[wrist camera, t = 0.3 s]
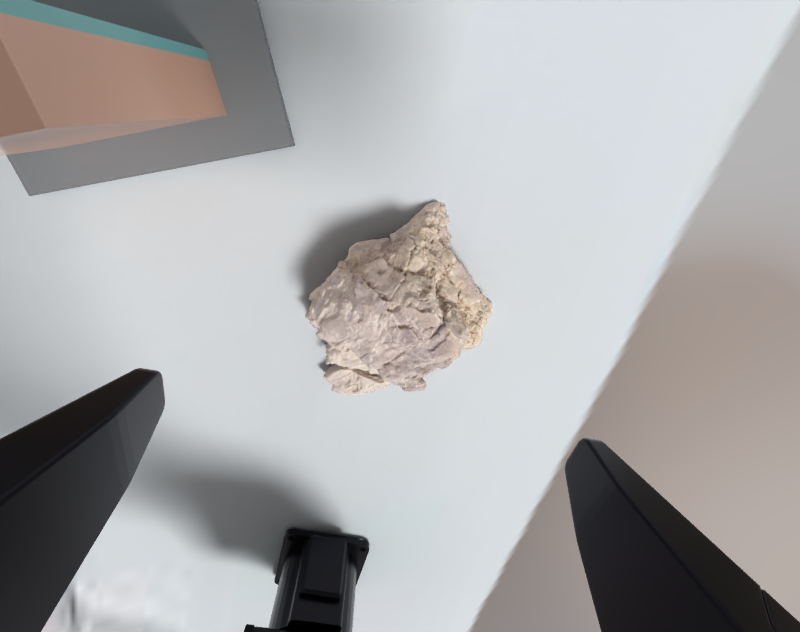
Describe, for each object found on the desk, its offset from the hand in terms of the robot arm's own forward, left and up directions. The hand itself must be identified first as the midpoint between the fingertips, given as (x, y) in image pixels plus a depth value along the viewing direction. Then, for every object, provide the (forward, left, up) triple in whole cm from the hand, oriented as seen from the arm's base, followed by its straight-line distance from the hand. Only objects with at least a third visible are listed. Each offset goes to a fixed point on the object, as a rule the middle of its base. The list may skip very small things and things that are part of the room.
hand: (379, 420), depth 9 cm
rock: (-4, -2, -15) cm, 16 cm away
